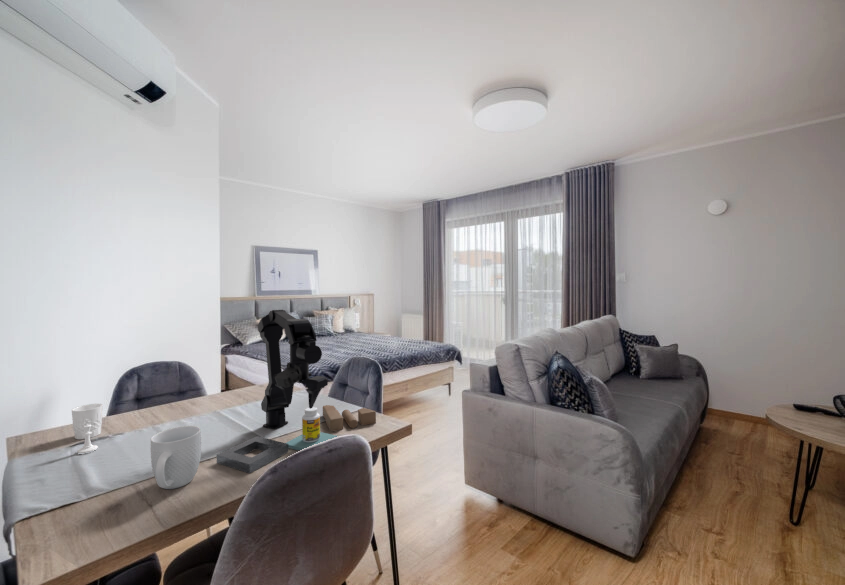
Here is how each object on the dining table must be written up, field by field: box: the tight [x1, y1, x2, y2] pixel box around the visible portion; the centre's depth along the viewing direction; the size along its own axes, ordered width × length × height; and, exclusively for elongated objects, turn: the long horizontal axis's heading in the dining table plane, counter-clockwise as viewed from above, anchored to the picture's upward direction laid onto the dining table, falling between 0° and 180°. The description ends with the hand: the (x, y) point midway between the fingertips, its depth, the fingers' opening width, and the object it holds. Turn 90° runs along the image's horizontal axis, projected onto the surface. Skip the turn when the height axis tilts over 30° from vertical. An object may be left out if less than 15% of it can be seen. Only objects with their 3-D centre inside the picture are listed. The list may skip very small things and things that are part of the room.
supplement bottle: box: [301, 406, 321, 443], centre depth 117 cm, size 6×6×10 cm
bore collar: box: [216, 435, 290, 474], centre depth 108 cm, size 14×14×2 cm
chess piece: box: [76, 419, 99, 453], centre depth 113 cm, size 5×5×10 cm
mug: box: [150, 425, 202, 490], centre depth 92 cm, size 15×11×13 cm
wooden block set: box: [322, 404, 377, 432], centre depth 138 cm, size 17×6×18 cm
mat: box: [285, 431, 338, 451], centre depth 118 cm, size 12×12×1 cm
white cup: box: [71, 403, 104, 440], centre depth 125 cm, size 8×8×10 cm
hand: (299, 406), depth 117 cm, fingers open, 9 cm apart
